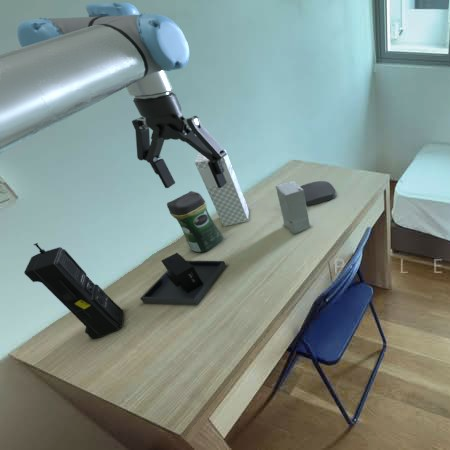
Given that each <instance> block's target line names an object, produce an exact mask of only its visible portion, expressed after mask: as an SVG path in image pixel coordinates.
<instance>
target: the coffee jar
mask: <svg viewBox="0 0 450 450" xmlns="http://www.w3.org/2000/svg"><path fill="white" fill-rule="evenodd" d="M166 207H167V208H168V212H169V214H170V216H172V217H173V218H174V219H175V220H176V221H177V223H178V224H179V226H180V228H181V230H182V232H183V235H184V238H185V240H186V243H187V245H188V247H189V249H190V250H191V251H193V252H196V253H205V252H207V251H209V250H210V249H212V248H214V247H215V246H217V245H218V244H219V243H221V241H222V240H223V235H222V233H221V231H220V230H219V228H218V227H217V224H215V222H214V220H213V219H212V217H211V215H210V214H209V212H208V208H207V202H206V200H205V199H204V198H203V196H202V195H201V194H200V193H199V192H197V191H191V190H190V191H188V192H187V193H184V194H182V195H181V196H179V197H177V198H175V199H173V200H171V201H168V202H167V203H166Z"/></svg>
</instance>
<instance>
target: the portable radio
mask: <svg viewBox="0 0 450 450" xmlns="http://www.w3.org/2000/svg"><path fill="white" fill-rule="evenodd" d="M33 246H35V247H36V248H37V249H38V250H39V253H37V254H34V255H33V256H31V258H30V259H29V262H28V263H27V265H26V267H25V270H24V275H25V276H26V277H27V278H28V279H29V280H30V281H31V282H32V283H41V284H42V285H43V286H44V287H46V289H47V290H49V292H50V293H51V294H52V295H53V296H55V298H56V299H57V300H59V302H60V303H61V304H63V306H64V307H66V309H68V311H70V313H72V314H73V315H74V316H75V317H76V319H78V320H79V321H80V322H81V324H83V325H84V327H85V329H84V333H85V334H86V335H87V336H88V337H89V338H91V340H94V339H98V338H101V337H104V336H107V335H109V334H111V333H114V332H116V331H119V330H120V329H121V328H122V325H123V317H124V316H123V315H124V310H123V309H122V308H121V307H120V306H119V305H118V304H117V303H116V302H115V301H114V300H113V299H112V298H111V297H110V296H109V295H108V294H107V293H106V292H105V291H104V289H102V288H101V287H100V285H99V284H97V283H94V282H93V280H91V278H90V277H89V276H88V275H87V273H86V272H85V271H84V269H83V267H81V265H79V264H78V262H76V260H75V259H74V258H73V257H72V256H71V255H70V254H69V252H68V251H67V250H66V249H64V248H63V247H61V246H59V247H56V248H52V249H48V250H45V249H44V248H41V247H40V246H39V243H38V242H36V243H34V244H33Z"/></svg>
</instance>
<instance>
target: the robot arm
mask: <svg viewBox="0 0 450 450" xmlns="http://www.w3.org/2000/svg"><path fill="white" fill-rule="evenodd" d="M85 11H86V12H87V15H88V16H79V17H77V16H76V17H59V18H58V17H56V18H54V17H53V18H51V17H50V18H47V17H39V18H38V19H27V20H23V21H22V22H20V23H19V24H18V26H17V28H16V32H17V33H16V36H17V39H18V43H19V45H20V47H18V48H16V49H12V50H9V51H5V52H3V53H0V154H2V153H4V152H6V151H8V150H10V149H12V148H15V147H16V146H18V145H20V144H21V143H23V142H26V141H27V140H29V139H31V138H33V137H34V136H36V135H38V134H40V133H42V132H44V131H46V130H48V129H50V128H51V127H54V126H55V125H57V124H59V123H62V122H63V121H64V120H67V119H68V118H70V117H72V116H74V115H76V114H78V113H80V112H82V111H83V110H86V109H88V108H89V107H91V106H94V105H95V104H97V103H99V102H101V101H103V100H104V99H106V98H108V97H110V96H113V95H114V94H116V93H118V92H119V91H121V90H123V89H125V88H126V90H127V92H128V94H129V95H130V96H132V97H134V98H133V100H132V102H133V103H134V105H135V107H136V109H137V111H138V113H139V115H140V117H138V118H135V119H133V120H131V123H132V126H133V128H134V130H135V131H134V132H135V143H136V157H137V160H139V161H146V162H147V163H148V164H150V166H151V168H152V170H153V172H154V173H155V175H157V176H158V177H159V179H160V181H161V183H162V184H163V187H164V188H165V189H169V188H170V187H172V186H173V185H175V184H176V181H175V179H174V177H173V175H172V173H171V171H170V170H169V167H168V165H167V164H166V162H165V160H164V158H162V157H161V156H160V155H161V153H162V149H163V145H164V143H165V141H168V140H174V141H177V140H180V141H181V142H183V143H186V144H187V145H189V146H190V147H192V148H193V149H194V150H195V151H197V152H198V153H201V154H202V155H203V156H205V157H206V158H207V159H208V160H210V161H209V162H208V165H209V167H210V170H211V172H212V174H213V177H214V179H215V181H216V184H217V186H218V188H222V187H223V186H224V185H225V184H226V183H227V181H226V179H225V176H224V174H223V172H224V167H223V165H222V162H221V159H222V158H223V157H224V156H226V155H227V154H228V152H227V150H226V151H225V150H224V149H225V148H223V146H221V144H220V143H219V142H218V141H217V140H216V139H215V138H214V137H213V135H211V133H210V132H209V131H208V130H207V129H206V128H205V126H203V124H202V122H201V120H200V118H199V117H198V115H193V116H191V117H188V118H185V117H184V115H183V114H182V106H181V103H180V102H179V100H178V97H177V94H176V93H174V92H172V91H173V86H172V84H171V81H170V79H169V77H168V75H167V72H172V71H177V70H181V69H182V70H183V68H185V67H186V66H187V65H188V63H189V60H190V46H189V43H188V40H187V39H186V36H185V35H184V31H182V29H181V27H179V25H178V24H177V23H176V22H174V21H173V20H172V19H171V18H169V17H167V16H166V15H162V14H156V13H155V14H154V13H145V12H141V13H140V12H139V10H138V8H137V7H136V6H135V5H134V4H132V3H129V2H93V3H88V4H86V5H85ZM150 130H152V133H151V136H150ZM226 152H227V153H226Z"/></svg>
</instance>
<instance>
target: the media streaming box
mask: <svg viewBox="0 0 450 450" xmlns="http://www.w3.org/2000/svg"><path fill="white" fill-rule="evenodd" d="M299 187H301V188H302V189H303V190H304V196H305V201H306V206H313V205H317V204H320V203H323V202H328V201H329V200H332V199H334V198H336V196H337V193H336V189H335V187H334V186H333V184H332V183H330V182H329V181H327V180H320V181H312V182H308V183H305V184H302V185H299Z"/></svg>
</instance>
